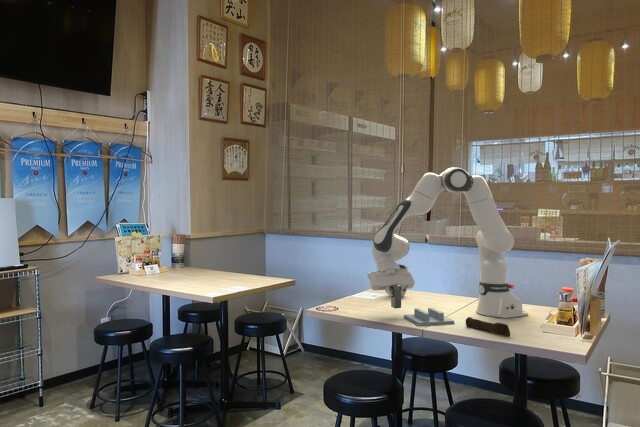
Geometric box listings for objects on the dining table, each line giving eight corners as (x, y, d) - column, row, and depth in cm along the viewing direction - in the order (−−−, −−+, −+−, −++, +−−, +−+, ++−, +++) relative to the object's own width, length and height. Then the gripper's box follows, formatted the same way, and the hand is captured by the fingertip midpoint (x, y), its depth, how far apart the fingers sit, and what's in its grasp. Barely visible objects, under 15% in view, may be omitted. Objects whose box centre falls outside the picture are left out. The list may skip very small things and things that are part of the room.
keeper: (437, 315, 210) (437, 306, 210) (454, 323, 197) (454, 313, 197) (404, 317, 206) (404, 307, 206) (418, 325, 193) (419, 315, 193)
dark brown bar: (464, 327, 193) (464, 315, 192) (471, 325, 195) (471, 314, 195) (505, 339, 177) (505, 326, 176) (511, 337, 179) (512, 325, 179)
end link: (397, 306, 211) (397, 283, 210) (401, 308, 207) (401, 285, 206) (391, 306, 210) (391, 283, 210) (394, 308, 206) (394, 285, 206)
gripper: (368, 267, 212) (376, 293, 203) (410, 265, 217) (420, 291, 208) (364, 275, 216) (372, 301, 207) (406, 274, 221) (415, 299, 212)
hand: (396, 296), depth 208 cm, fingers closed on end link, 3 cm apart
